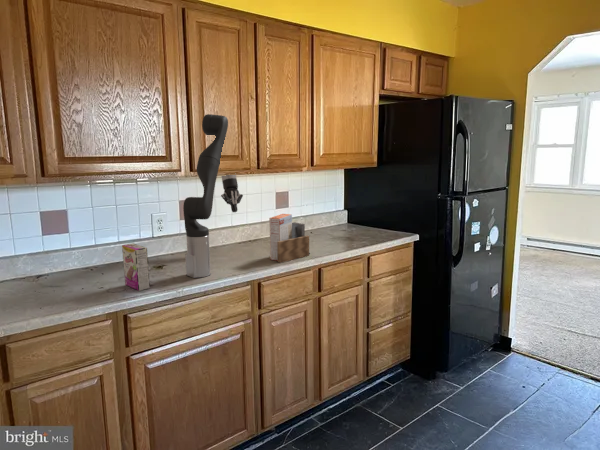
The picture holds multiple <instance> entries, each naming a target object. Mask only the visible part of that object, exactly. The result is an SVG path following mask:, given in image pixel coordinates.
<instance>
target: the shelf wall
mask: <svg viewBox="0 0 600 450" xmlns="http://www.w3.org/2000/svg"><path fill="white" fill-rule="evenodd" d="M277 253H278V261H277V263H279V264H281V263H284V262H285V263H286V262H289V261H292V260H296V259H301V258H304V257H309V256H310V254H309V253H310V235H305V236H302V237H298V238H293V239H288V240H283V241H278V242H277Z"/></svg>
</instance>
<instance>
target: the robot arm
mask: <svg viewBox="0 0 600 450" xmlns="http://www.w3.org/2000/svg"><path fill="white" fill-rule="evenodd" d="M201 122H202V123H201V126H202V131H203V133H204V135H206V136H207V135H215V136H216V138H215V140H214V141H212V142H211V143H210V144H209V145H208V146H207V147H205V149H203V150H202V151H201V153H200V155H199V157H198V159H197V160H198V161H197V163H196V164H197V165H196V174H197V176H198V178H199V180H200V182H201V184H202V187H203V195H202V196H201V197H200V196H189V197H186V198H185V199H184V201H183V207H182V209H183V218H184V229H185V233H186V253H185V254H184V256H185V273H186V276H187V277H191V278H193V279H196V278H204V277H208V276H210V275H211V255H210V254H211V253H210V252H211V251H210V232H209V228H208V227H207V226H205V225H203V224H201V223H199V222H198V220H209V219H210V217H211V215H212V211H213V206H214V205H213V204H214V197H215V196H214V194H215V187H216V182H217V177H218V174H219V169H220V158H221V152H222V147H223V144H224V140H225V137H227V133H228V128H229V120H228V117H227V116H225V115H219V114H212V113H211V114H210V113H208V114H205V115H204V116H203V117H202V121H201ZM221 182H222V183H221V184H222V188H223V190H224V191H223V193H222V194H221V195H220V197H221V198H222V199H223V200H224V202H225V203H226V204H227V205H229V206H230V208H231V212H232V213H237V212H238V210H239V209H238V204H240V202H241V201H242V199H243V196H244V195H243V194H241V193H240V192H239V190H238V189H239V185H238V184H239V183H238V180H237V174H236V175H226V176H221Z"/></svg>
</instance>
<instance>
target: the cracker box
mask: <svg viewBox="0 0 600 450" xmlns="http://www.w3.org/2000/svg"><path fill="white" fill-rule="evenodd" d="M292 223H293V215H292V214H291V213H280V214H278V215H274V216H272V217H269V246H270V247H269V249H270V250H269V251H270V260H271V261H277V262H278V253H277V242H278V241H283V240H288V239H292Z"/></svg>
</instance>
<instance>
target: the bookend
mask: <svg viewBox="0 0 600 450" xmlns="http://www.w3.org/2000/svg"><path fill="white" fill-rule="evenodd" d="M305 227H306V226H305V223H302V222H301V223H300V222H292V239H293V238H298V237H302V236H306V234H305ZM310 254H311V253H310V252H309V255H310Z"/></svg>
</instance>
